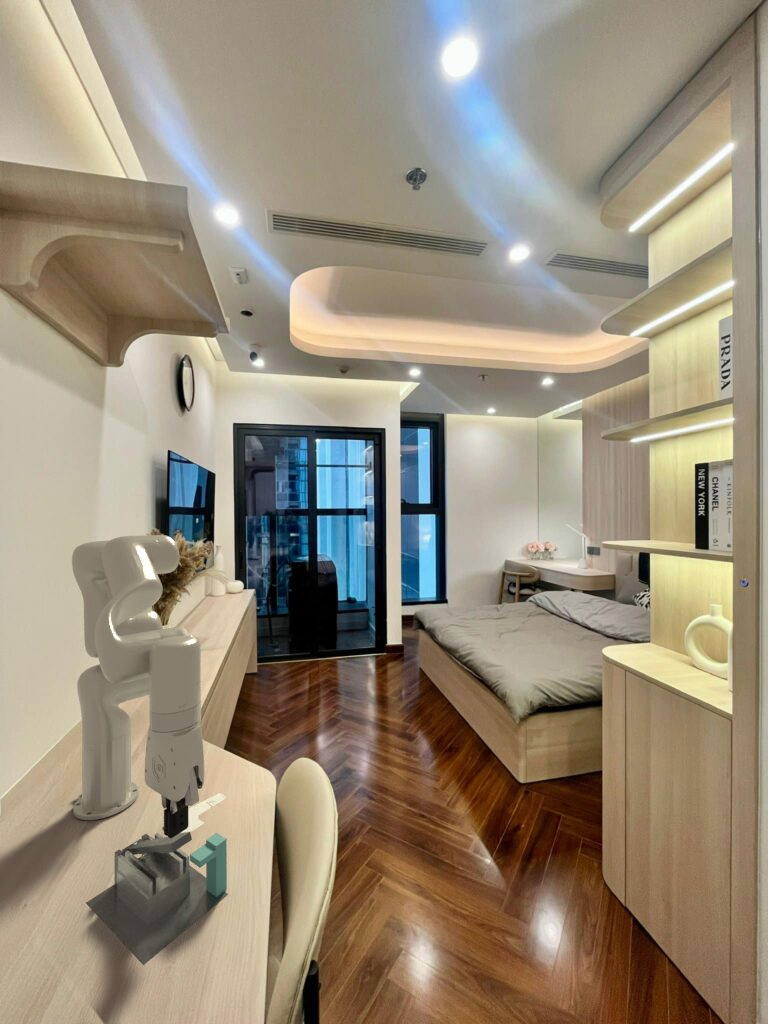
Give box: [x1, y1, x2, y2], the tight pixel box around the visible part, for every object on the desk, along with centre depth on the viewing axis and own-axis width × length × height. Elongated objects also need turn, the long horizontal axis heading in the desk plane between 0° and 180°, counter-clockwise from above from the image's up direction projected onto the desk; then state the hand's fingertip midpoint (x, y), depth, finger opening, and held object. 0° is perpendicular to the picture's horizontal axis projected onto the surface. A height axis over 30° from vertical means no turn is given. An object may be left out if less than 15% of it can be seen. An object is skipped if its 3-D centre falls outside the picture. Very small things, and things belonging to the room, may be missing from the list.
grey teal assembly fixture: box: [85, 832, 229, 965], centre depth 73 cm, size 18×14×7 cm
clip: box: [189, 832, 228, 897], centre depth 73 cm, size 3×5×8 cm, turn 146°
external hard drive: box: [181, 792, 228, 833], centre depth 94 cm, size 2×8×12 cm
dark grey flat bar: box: [121, 832, 193, 857], centre depth 74 cm, size 18×3×1 cm, turn 56°
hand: (176, 831), depth 70 cm, fingers closed
